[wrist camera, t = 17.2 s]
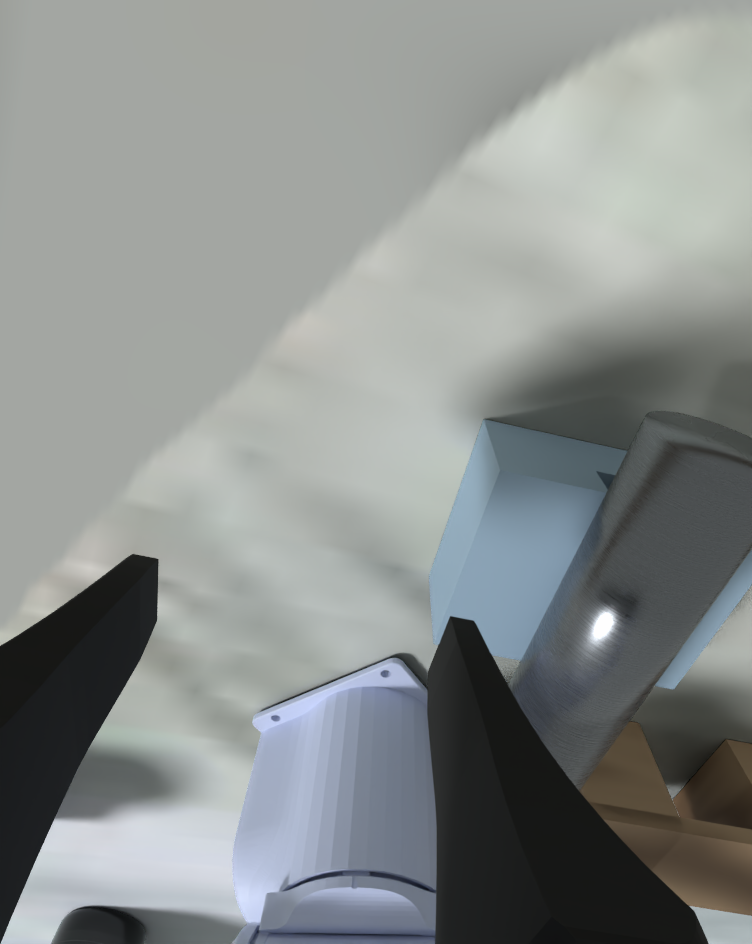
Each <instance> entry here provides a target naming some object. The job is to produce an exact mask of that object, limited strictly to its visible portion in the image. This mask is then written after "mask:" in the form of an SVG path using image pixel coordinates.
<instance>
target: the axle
mask: <svg viewBox="0 0 752 944" xmlns="http://www.w3.org/2000/svg"><path fill="white" fill-rule="evenodd" d="M751 550H752V438H750V437H748V436H746V435H744V434H741V433H739V432H737V431H734V430H732V429H729V428H727V427H724V426H722V425H719V424H716V423H713V422H710V421H707V420H704V419H700V418H697V417H693V416H689V415H685V414H680V413H674V412H666V411H655V412H650V413H648V414H647V415H646V416H645V418H644V420H643V422H642V424H641V426H640V428H639V430H638V432H637V434H636V436H635V438H634V440H633V442H632V444H631V445H630V447H629V449H628V451H627V453H626V455H625V457H624V459H623V461H622V463H621V465H620V467H619V469H618V471H617V473H616V475H615V477H614V479H613V481H612V483H611V485H610V487H609V489H608V491H607V493H606V495H605V497H604V498H603V500H602V502H601V504H600V506H599V508H598V510H597V512H596V514H595V516H594V518H593V520H592V522H591V524H590V526H589V528H588V530H587V532H586V534H585V536H584V538H583V540H582V542H581V544H580V546H579V548H578V550H577V551H576V553H575V555H574V557H573V559H572V561H571V563H570V565H569V567H568V569H567V571H566V573H565V575H564V577H563V579H562V581H561V583H560V585H559V587H558V589H557V591H556V593H555V595H554V597H553V599H552V601H551V602H550V604H549V606H548V608H547V610H546V612H545V614H544V616H543V618H542V620H541V622H540V624H539V626H538V628H537V630H536V632H535V634H534V636H533V638H532V640H531V642H530V644H529V646H528V648H527V650H526V652H525V654H524V655H523V657H522V659H521V661H520V663H519V665H518V667H517V669H516V671H515V673H514V675H513V677H512V679H511V681H510V683H509V685H508V686H509V688H510V690H511V691H512V693H513V695H514V697H515V698H516V700H517V702H518V704H519V705H520V707H521V709H522V710H523V712H524V714H525V715H526V717H527V718H528V720H529V722H530V723H531V725H532V726H533V728H534V729H535V731H536V733H537V734H538V736H539V737H540V739H541V740H542V742H543V743H544V745H545V746H546V748H547V749H548V750H549V752H550V753H551V755H552V756H553V757H554V759H555V760H556V761H557V763H558V764H559V766H560V767H561V768H562V770H563V771H564V772H565V774H566V775H567V776H568V778H569V779H570V780H571V781H572V783H573V784H574V785H575V786H576V788H577V789H578V790H579V791H580V790H581V788H582V787H583V786H584V784H585V783H586V781H587V780H588V779H589V777H590V776H591V774H592V773H593V772H594V770H595V769H596V767H597V766H598V765H599V763H600V762H601V760H602V759H603V758H604V756H605V755H606V753H607V752H608V751H609V749H610V748H611V746H612V745H613V744H614V742H615V741H616V739H617V738H618V736H619V735H620V734H621V732H622V731H623V729H624V728H625V727H626V725H627V724H628V722H629V721H630V720H631V718H632V717H633V715H634V714H635V713H636V711H637V710H638V708H639V707H640V706H641V704H642V703H643V701H644V700H645V699H646V697H647V696H648V694H649V693H650V692H651V690H652V689H653V687H654V686H655V685H656V683H657V682H658V680H659V679H660V678H661V676H662V675H663V673H664V672H665V671H666V669H667V668H668V666H669V665H670V664H671V662H672V661H673V659H674V658H675V657H676V655H677V654H678V652H679V651H680V650H681V648H682V647H683V645H684V644H685V643H686V641H687V640H688V638H689V637H690V636H691V634H692V633H693V631H694V630H695V628H696V627H697V626H698V624H699V623H700V621H701V620H702V619H703V617H704V616H705V614H706V613H707V612H708V610H709V609H710V607H711V606H712V605H713V603H714V602H715V600H716V599H717V598H718V596H719V595H720V593H721V592H722V591H723V589H724V588H725V586H726V585H727V584H728V582H729V581H730V579H731V578H732V577H733V575H734V574H735V572H736V571H737V570H738V568H739V567H740V565H741V564H742V563H743V561H744V560H745V558H746V557H747V556H748V554H749V553H750V551H751Z"/></svg>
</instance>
